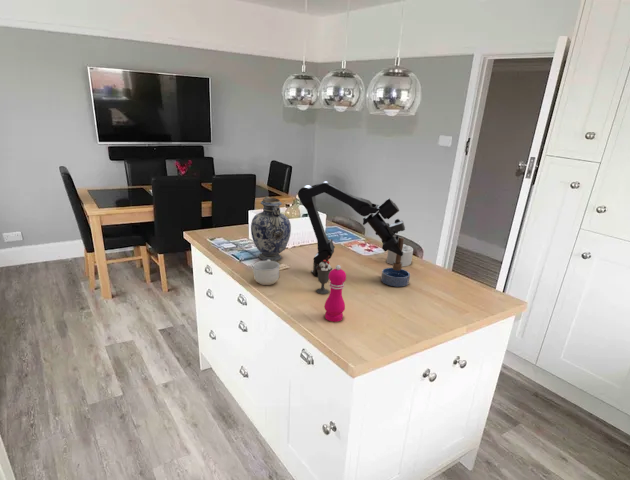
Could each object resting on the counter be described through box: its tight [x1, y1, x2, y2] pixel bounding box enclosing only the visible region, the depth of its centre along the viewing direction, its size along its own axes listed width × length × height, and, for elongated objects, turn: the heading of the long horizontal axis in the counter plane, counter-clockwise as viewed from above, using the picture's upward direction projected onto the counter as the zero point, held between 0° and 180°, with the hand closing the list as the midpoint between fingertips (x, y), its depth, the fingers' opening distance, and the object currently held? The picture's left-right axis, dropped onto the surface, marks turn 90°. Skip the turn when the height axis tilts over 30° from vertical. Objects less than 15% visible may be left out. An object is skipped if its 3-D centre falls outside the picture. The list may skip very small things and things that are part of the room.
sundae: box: [316, 256, 333, 295], centre depth 166 cm, size 7×7×15 cm
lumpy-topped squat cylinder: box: [386, 243, 414, 268], centre depth 207 cm, size 10×13×9 cm
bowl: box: [380, 267, 411, 288], centre depth 183 cm, size 12×12×4 cm
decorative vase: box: [250, 195, 292, 262], centre depth 196 cm, size 21×19×28 cm
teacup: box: [252, 260, 280, 286], centre depth 173 cm, size 14×11×8 cm
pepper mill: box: [324, 264, 347, 323], centre depth 144 cm, size 7×7×20 cm
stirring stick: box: [392, 236, 405, 271], centre depth 177 cm, size 4×4×14 cm
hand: (402, 254), depth 177 cm, fingers closed on stirring stick, 2 cm apart
